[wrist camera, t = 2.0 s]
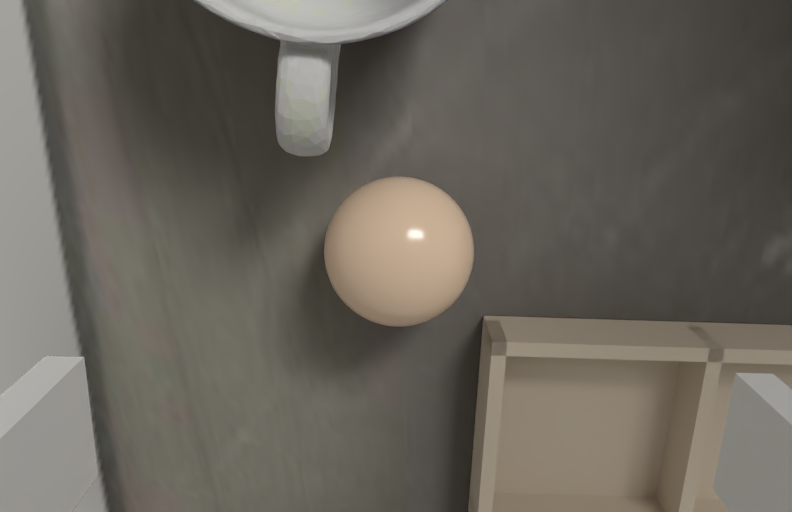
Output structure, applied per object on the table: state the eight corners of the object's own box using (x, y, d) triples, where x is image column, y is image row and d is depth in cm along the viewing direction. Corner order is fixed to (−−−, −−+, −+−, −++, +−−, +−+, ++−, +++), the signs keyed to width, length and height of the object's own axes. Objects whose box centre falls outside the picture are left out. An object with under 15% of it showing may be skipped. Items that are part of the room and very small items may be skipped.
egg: (331, 162, 27) (315, 190, 21) (470, 167, 27) (489, 196, 21) (330, 293, 28) (316, 349, 23) (461, 297, 28) (477, 354, 23)
